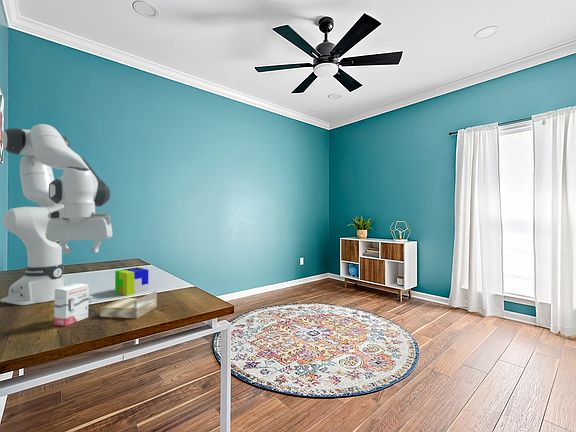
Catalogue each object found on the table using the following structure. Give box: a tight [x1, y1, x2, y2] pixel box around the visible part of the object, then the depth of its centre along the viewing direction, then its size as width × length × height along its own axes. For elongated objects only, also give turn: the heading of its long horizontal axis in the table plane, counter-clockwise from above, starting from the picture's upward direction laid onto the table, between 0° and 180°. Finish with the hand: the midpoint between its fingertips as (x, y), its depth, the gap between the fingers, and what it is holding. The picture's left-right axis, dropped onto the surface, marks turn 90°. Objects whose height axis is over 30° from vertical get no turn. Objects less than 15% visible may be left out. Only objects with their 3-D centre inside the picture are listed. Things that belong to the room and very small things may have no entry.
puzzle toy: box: [114, 267, 149, 297], centre depth 131 cm, size 10×10×10 cm
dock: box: [99, 291, 158, 319], centre depth 104 cm, size 14×12×6 cm
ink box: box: [53, 282, 90, 327], centre depth 95 cm, size 9×5×12 cm, turn 168°
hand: (81, 253), depth 97 cm, fingers open, 8 cm apart
